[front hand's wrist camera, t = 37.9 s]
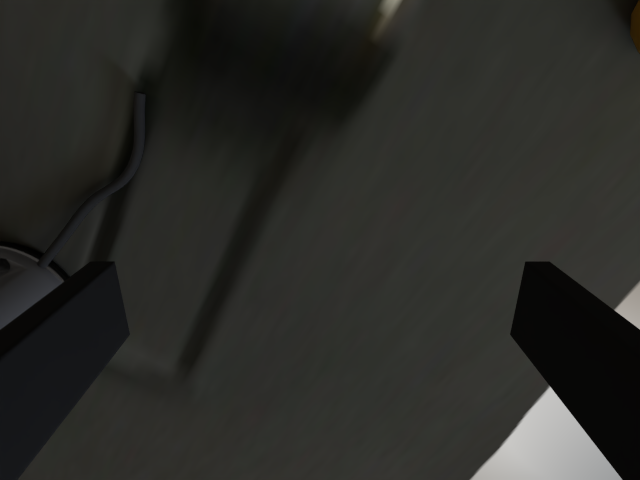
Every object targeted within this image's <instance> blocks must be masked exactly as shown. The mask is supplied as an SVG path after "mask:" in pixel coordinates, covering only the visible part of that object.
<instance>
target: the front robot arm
mask: <svg viewBox="0 0 640 480" xmlns="http://www.w3.org/2000/svg"><path fill="white" fill-rule="evenodd" d="M145 96H146V94H144V93H141V92H134V144H133V150H132V154H131V157H130V160H129V162H128V165H127V166H126V168H125V170H124V171H123V173H122V174H121V175H120V176H119V177H118V178H117V179H115V180H114V181H113V182H111V183H110V184H108V185H107V186H105V187H103V188H102V189H100V190H99V191H97V192H96V193H94V194H93V195H92V196H91V197H89V198H88V199H87V200H86V201H85V202H84V203H83V204H82V205H81V206H80V208H79V209H78V210H77V211H76V212H75V214H74V215H73V216H72V218H71V219H70V220H69V222H68V223H67V225H66V226H65V227H64V229H63V230H62V231H61V233H60V234H59V235H58V237H57V238H56V239H55V240H54V242H53V243H52V244H51V246H50V247H49V248H48V249H47V251H46V252H45V253H44V255H41V254H40V253H38V252H36V251H34V250H31V249H29V248H26V247H24V246H21V245H17V244H13V243H8V242H0V480H18V478H19V477H20V476H21V474H22V473H23V472H24V471H25V469H26V468H27V467H28V465H29V464H30V463H31V461H32V460H33V459H34V458H35V456H36V455H37V454H38V452H39V451H40V450H41V449H42V447H43V446H44V445H45V443H46V442H47V441H48V440H49V438H50V437H51V436H52V434H53V433H54V432H55V430H56V429H57V428H58V427H59V425H60V424H61V423H62V421H63V420H64V419H65V418H66V416H67V415H68V414H69V412H70V411H71V410H72V409H73V407H74V406H75V405H76V403H77V402H78V401H79V399H80V398H81V397H82V396H83V394H84V393H85V392H86V390H87V389H88V388H89V387H90V385H91V384H92V383H93V381H94V380H95V379H96V378H97V376H98V375H99V374H100V372H101V371H102V370H103V368H104V367H105V366H106V365H107V363H108V362H109V361H110V359H111V358H112V357H113V356H114V354H115V353H116V352H117V350H118V349H119V348H120V347H121V345H122V344H123V343H124V341H125V340H126V339H127V337H128V336H129V335H130V333H129V328H128V324H127V319H126V314H125V309H124V304H123V300H122V295H121V290H120V285H119V280H118V276H117V271H116V266H115V262H89V263H88V264H87V265H85V266H84V267H83V268H81V269H80V270H79V271H77V272H76V273H75V274H74V275H72V276H71V277H70V278H69V276H68V275H67V274H66V273H65V272H64V271H63V270H62V269H61V268H60V267H59V266H57V265H56V264H55V263H54V262H52V259H53V258H54V257H55V256H56V254H57V253H58V252H59V251H60V249H61V248H62V247H63V245H64V244H65V243H66V242H67V240H68V239H69V238H70V237H71V235H72V234H73V233H74V231H75V230H76V228H77V227H78V226H79V224H80V223H81V222H82V220H83V219H84V218H85V217H86V215H87V214H88V213H89V212H90V211H91V210H92V209H93V208H94V207H95V206H96V205H97V204H98V203H99V202H100V201H102V200H103V199H104V198H106V197H107V196H109V195H111V194H112V193H114V192H116V191H117V190H119V189H120V188H122V187H123V186H124V185H125V184H126V183H128V182H129V180H130V179H131V178H132V177H133V176H134V174H135V172H136V171H137V169H138V167H139V164H140V162H141V159H142V155H143V151H144V143H145ZM510 335H511V336H512V337H513V339H514V340H515V341H516V343H517V344H518V345H519V347H520V348H521V349H522V350H523V352H524V353H525V354H526V356H527V357H528V358H529V359H530V361H531V362H532V363H533V365H534V366H535V367H536V368H537V370H538V371H539V372H540V374H541V375H542V376H543V378H544V379H545V380H546V381H547V383H548V384H549V385H550V387H551V388H552V389H553V390H554V392H555V393H556V394H557V396H558V397H559V398H560V399H561V401H562V402H563V403H564V405H565V406H566V407H567V409H568V410H569V411H570V412H571V414H572V415H573V416H574V418H575V419H576V420H577V421H578V423H579V424H580V425H581V427H582V428H583V429H584V430H585V432H586V433H587V434H588V436H589V437H590V438H591V440H592V441H593V442H594V443H595V445H596V446H597V447H598V449H599V450H600V451H601V452H602V454H603V455H604V456H605V458H606V459H607V460H608V461H609V463H610V464H611V465H612V467H613V468H614V469H615V471H616V472H617V473H618V474H619V476H620V477H621V478H622V480H640V330H639V329H638V328H637V327H636V326H634V325H633V324H632V323H630V322H629V321H628V320H626V319H625V318H624V317H622V316H621V315H620V314H618V313H617V312H616V311H614V310H613V309H612V308H610V307H609V306H608V305H606V304H605V303H604V302H602V301H601V300H600V299H598V298H597V297H596V296H594V295H593V294H592V293H590V292H589V291H588V290H586V289H585V288H584V287H582V286H581V285H580V284H578V283H577V282H576V281H574V280H573V279H572V278H570V277H569V276H568V275H566V274H565V273H564V272H563V271H561V270H560V269H559V268H557V267H556V266H555V265H553V264H552V263H551V262H525V266H524V271H523V276H522V280H521V285H520V290H519V295H518V300H517V304H516V309H515V314H514V319H513V324H512V328H511V333H510Z"/></svg>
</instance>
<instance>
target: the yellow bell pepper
mask: <svg viewBox="0 0 640 480" xmlns="http://www.w3.org/2000/svg"><path fill="white" fill-rule="evenodd" d="M630 35H631V37H632V40H633V42H634V44H635V46H636V48H637V51H638V52H639V54H640V0H638V2H637V4H636V6H635V8H634V10H633V12H632V14H631V27H630Z"/></svg>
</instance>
